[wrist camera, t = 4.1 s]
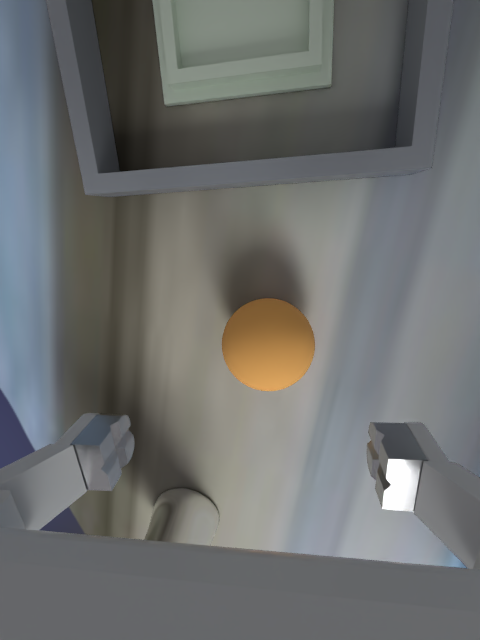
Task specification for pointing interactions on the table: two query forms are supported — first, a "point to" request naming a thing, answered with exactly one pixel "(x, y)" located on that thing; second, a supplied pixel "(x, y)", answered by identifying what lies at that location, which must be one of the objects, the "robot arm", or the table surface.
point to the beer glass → (183, 518)
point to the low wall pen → (106, 179)
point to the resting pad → (242, 47)
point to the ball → (268, 344)
